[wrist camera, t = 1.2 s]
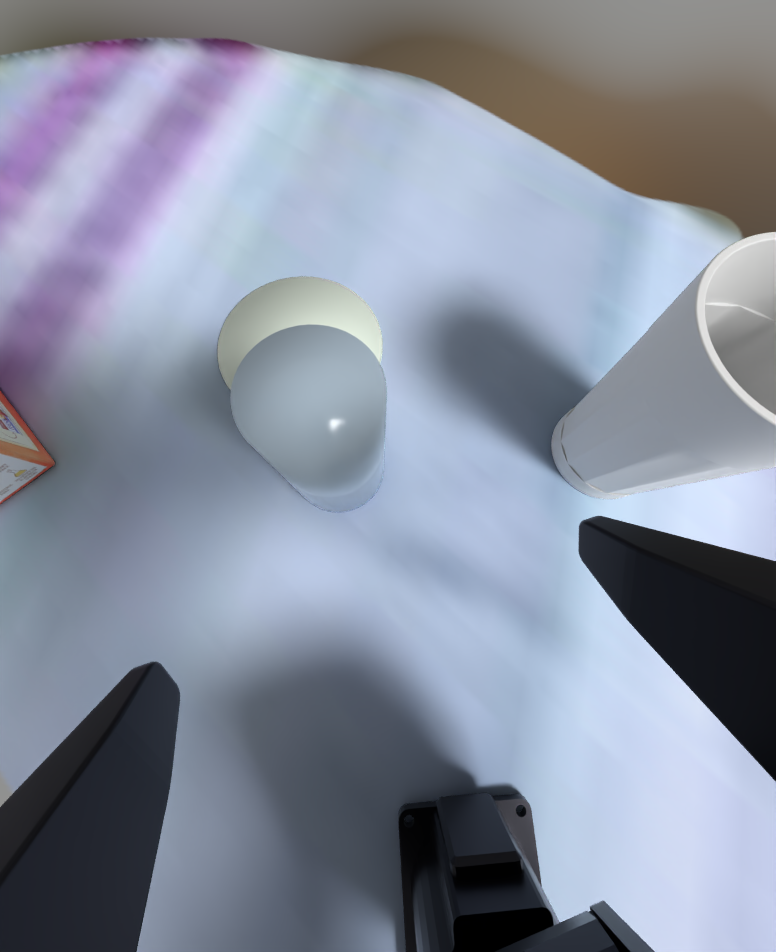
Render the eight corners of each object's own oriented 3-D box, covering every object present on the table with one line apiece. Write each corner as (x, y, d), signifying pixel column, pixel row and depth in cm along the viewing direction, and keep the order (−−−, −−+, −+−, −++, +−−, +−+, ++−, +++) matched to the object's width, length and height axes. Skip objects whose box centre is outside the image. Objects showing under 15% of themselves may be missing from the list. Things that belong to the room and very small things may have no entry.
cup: (650, 532, 22) (954, 489, 10) (523, 485, 23) (677, 395, 11) (673, 417, 24) (949, 274, 12) (555, 377, 24) (714, 203, 13)
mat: (387, 417, 23) (387, 416, 23) (213, 426, 23) (212, 425, 23) (377, 275, 26) (377, 273, 26) (222, 281, 26) (221, 279, 26)
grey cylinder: (386, 509, 22) (391, 461, 12) (294, 515, 22) (226, 470, 12) (381, 424, 23) (382, 321, 14) (294, 429, 23) (233, 327, 14)
